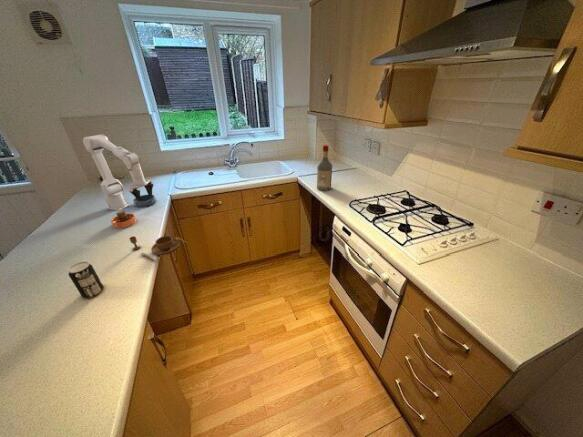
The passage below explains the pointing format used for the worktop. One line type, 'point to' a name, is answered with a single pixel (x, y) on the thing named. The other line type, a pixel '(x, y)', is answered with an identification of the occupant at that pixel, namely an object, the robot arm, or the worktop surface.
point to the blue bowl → (145, 201)
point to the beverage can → (85, 279)
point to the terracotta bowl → (128, 223)
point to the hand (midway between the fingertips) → (145, 198)
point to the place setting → (161, 245)
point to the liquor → (324, 172)
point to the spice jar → (122, 216)
